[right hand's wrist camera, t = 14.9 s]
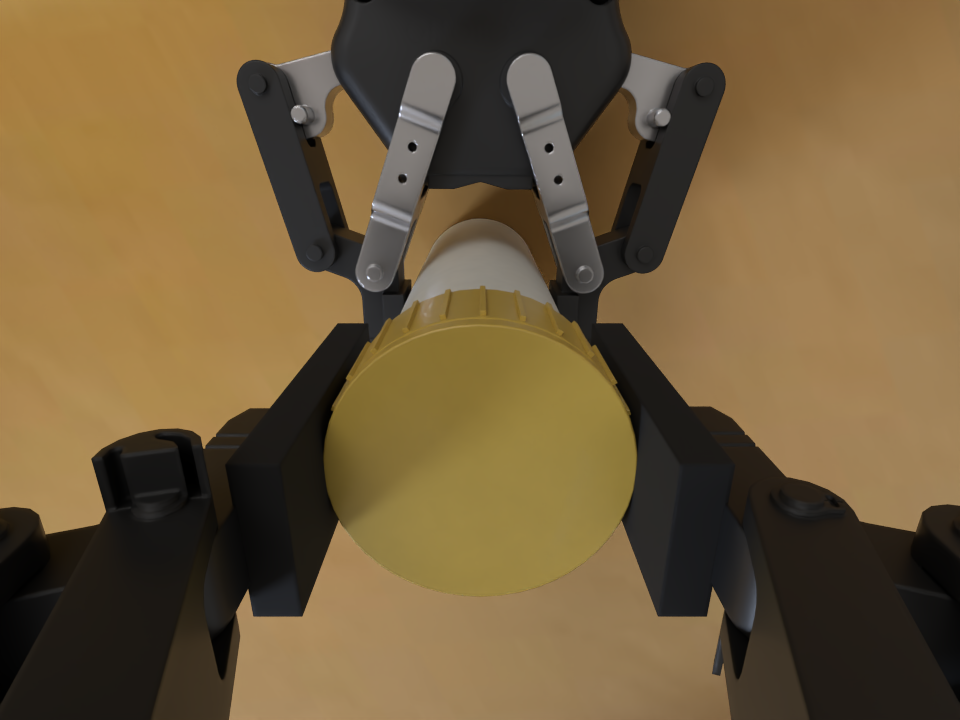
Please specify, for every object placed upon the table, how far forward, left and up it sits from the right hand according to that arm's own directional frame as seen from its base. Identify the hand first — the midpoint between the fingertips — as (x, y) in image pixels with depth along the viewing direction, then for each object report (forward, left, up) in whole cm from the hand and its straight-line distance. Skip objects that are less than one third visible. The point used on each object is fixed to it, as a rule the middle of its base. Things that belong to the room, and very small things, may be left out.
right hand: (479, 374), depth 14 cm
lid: (0, 0, +4) cm, 4 cm away
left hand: (-2, +2, -5) cm, 6 cm away
